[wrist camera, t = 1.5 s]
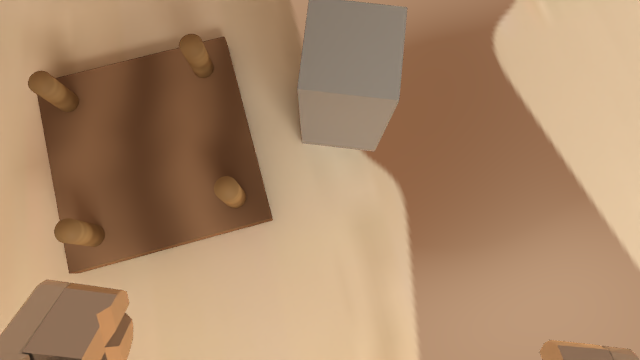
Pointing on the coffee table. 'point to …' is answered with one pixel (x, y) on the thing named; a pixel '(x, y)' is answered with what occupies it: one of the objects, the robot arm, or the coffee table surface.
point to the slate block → (350, 72)
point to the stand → (149, 154)
